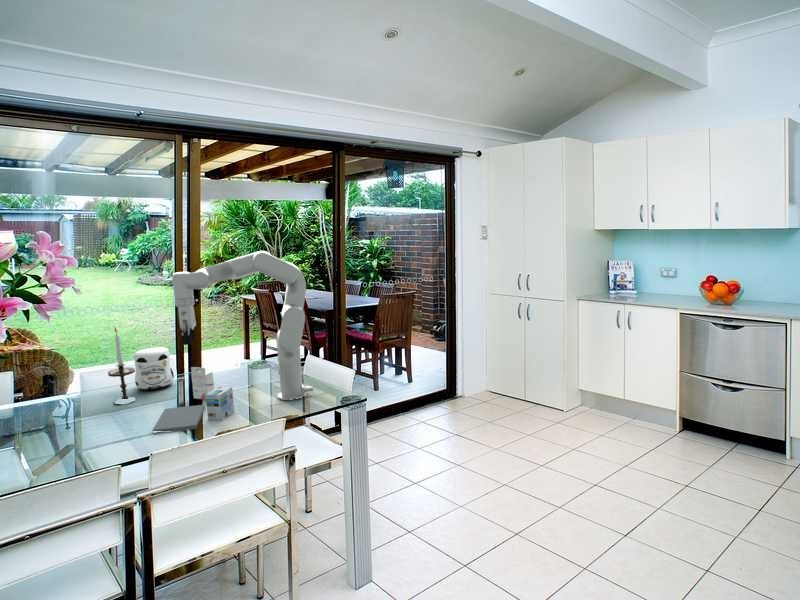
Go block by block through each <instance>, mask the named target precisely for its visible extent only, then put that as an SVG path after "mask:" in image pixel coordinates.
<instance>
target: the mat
mask: <svg viewBox="0 0 800 600" xmlns="http://www.w3.org/2000/svg"><path fill="white" fill-rule="evenodd" d="M205 409H206V406H205V404H198V405H187V406H180V407H170V408H164V410H163V411H162V413H161V415H160V417H159V418H158V420H157V422H156V424H155V425H154V427H153V428H152V432H153V431H173V432H179V431H187V430H188V431H189V430H197V428H198V426H199V424H200V421H201V420H202V416H203V414H204V412H205Z"/></svg>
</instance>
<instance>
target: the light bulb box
mask: <svg viewBox="0 0 800 600" xmlns="http://www.w3.org/2000/svg"><path fill="white" fill-rule="evenodd" d="M233 392H234V391H233V387H231V386H229V387H228V386H217V387H216V388H214V390H212V391H211V392H209V393H207V394H206V395H205V397H206V399H205V404H206V406H205V407H206V416H207V420H208V421H224V420H225V419H226V418H228V417H229V416H230V415H231V414H233V413H235V402H234V395H233V394H234V393H233Z"/></svg>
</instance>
